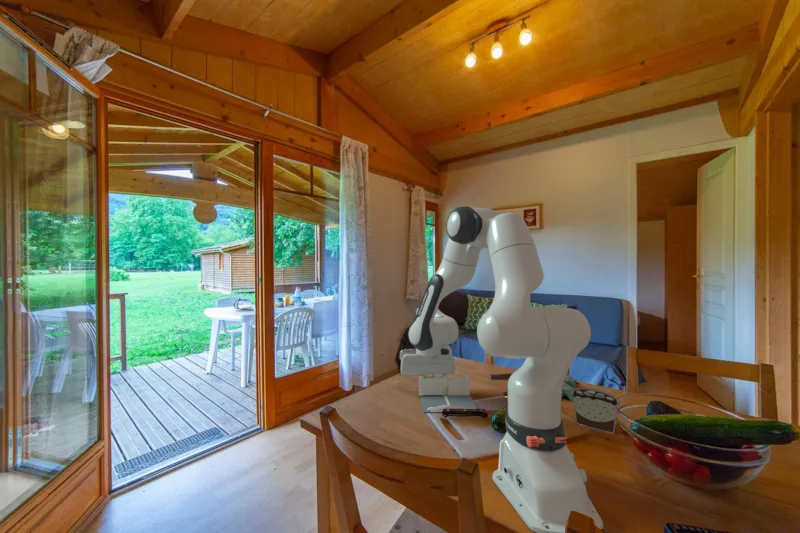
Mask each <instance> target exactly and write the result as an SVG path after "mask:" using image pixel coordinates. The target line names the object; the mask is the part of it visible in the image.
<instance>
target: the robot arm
mask: <svg viewBox="0 0 800 533" xmlns="http://www.w3.org/2000/svg"><path fill="white" fill-rule="evenodd" d="M530 231H531V230H530V228H529V227H528V225H527V223H526V221H525V219H524V218H523V217H522V216H521V215H520V214H518V213H516V212H510V211H509V212H503V211H499V210H496V209H495V210H494V209H490V208H486V207H471V206H468V205H467V206H458V207H455V208H453V210H452V211H451V212H450V213H449V214H448V217H447V220H446V233H447V236H448V239H447V242H446V245H445V249H444V252H443V256H442V259H441V262H440V264H439V267H438V269H437V270H436V272H435V273H434V275H432V277H431V278H429V280H428V281H427V282H428V283H427V285H426V287H425V289H424V293H423V295H422V298H421V300H420V303H419V305H418V307H417V309H416V313H415V316H414V318H413V320H412V322H411V323H410V326H409V327H408V328H409V329H408V331H407V332H408V333H407V336H408V340H409V342H410V344H411V346H413V347H414V348H403V349H402V350H401V351H400V352H399V360H400V373H401V375H403V376H411V375H412V376H413V375H416V376H419V375H423V376H424V378H426V375H430V377H436V375H442V374H447V375H450V374H451V375H454V374H455V372H456V362H455V358H454V355H453V349H452V347H451V346H450V345H451V344H454V343H455V342H457V341H458V339H459V337H460V327H459V324H458V322H457V320H456V319H454V318H453V317H452V316H448V315H447V314H445V313H443V312H442V311H441V310H440V309H439V306H440V303H441V302H442V300H444V298H445V297H447V296H448V295H450V294H451V293H453V292H456V291H458V290H459V289H460V290H461V289H462V288H465V287H466V286H467V285H469V283H471V281H472V279H473V278H474V276H475V273H476V270H477V266H478V262H479V257H480V253H481V252H482V250H483V249H484V248H485V249H488V253H489V254H488V255H489V258H490V263H491V267H492V273H493V279H494V280H493V281H494V286H495V289H494V296H493V300H492V303H491V305H490V306H489V308H488V310H486V311H485V313H483V314H482V316H481V317H480V319H479V321H478V323H477V329H476V336H477V339H478V343H479V345H480V347H481V348H482V350H483V351H484V353H486V354H487V355H488V356H490V357H495V358H501V359H507V360H515V359H525V360H524V362H523V363H522V365H521V366H520V367H519V368H517V369H516V371H513V372H512V373H513V374H512V375H511V376H510V378H509V379H508V381H507V392H508V398H507V410H506V412H505V413H506V414H505V417H504V418H505V420H504V422H505V430H506V432H505V434H504V436H503V437H502V439H501V440H500V441H499V453H498V466H497V467H498V468H497V469H495V470H494V471H493V473H492V478H491V479H492V481H493V482H494V483H495V485H496V486H497V487H498V488H499V490H500V491H501V492H502V494H503V495H504V496H505V498H506V500H508V502H509V503H510V504H511V506H512V507H513V509H514V510H515V511H516V512H517V514H518V515H519V517H520V518H521V519H522V520H523V522H524V523H525V525H526V526H527V527H528V528H529V529H530V530H531V531H532V532H535V533H565V527H566V523H567V520H568V517H569V514H570V511H572V510H573V511H577V512H579V513H582V514H585V515H587V516H590V517H592V518H593V519H594V521H595V524H596V526H597V527H598V528H600V529H602V530H603V529H604V522H603V520H602V518H601V516H600V514H599V513H598V511H597V510H596V508H595V505H594V504H593V503H592V500H591V499H590V497H589V496H588V492H587V487H586V484H585V483H587V481H588V478H587V477H588V476H587V473H586V471H585V470H584V469H583V468H578V466H577V464H576V462H575V455H574V453H573V452H571V451H570V450H569V448H568V446H567V443H568V441H567V439H568V437H567V436H566V429H565V426H564V422H563V420H562V397H563V396H562V387H563V382H564V379H565V376H566V374H568V372H569V369H570V367H571V365H572V363H573V362H574V360H575V359H576V357H577V356H578V354H579V353H580V352H582V351H583V350H584V349H585V348H586V347H587V346H588V345H589V342H590V341H591V336H592V333H591V332H592V331H591V325H590V323H589V321H588V319H587V317H586V315H584V314H583V313H582V312H581V311H580V310H578V309H575V308H570V307H565V306H558V305H552V306H551V305H550V306H532V303H531V293H533V292H534V291H535V290H537V289H538V288H539V287H541V285H542V283H543V280H544V277H545V274H544V271H543V268H542V264H541V259H540V258H539V252H538V250H537V247H536V243H535V241H534V238H533V236H532V235H533V234H531V232H530Z"/></svg>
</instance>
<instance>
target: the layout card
mask: <svg viewBox="0 0 800 533" xmlns="http://www.w3.org/2000/svg"><path fill="white" fill-rule="evenodd" d="M417 389H418V390H419V386H418V388H417ZM419 397H420V402H421V407H422V409H423V414H427V413H426V412H430V411H431V410H428V409H427V408H429V407H437V406H442V405H448V406H460V407H465V408H466V407H467V408H478V407H477V405H476V403H475V402H474V400H473V398H472V397H471V395H470V394H469V395H456V396H449V395H448V385H447V395H424V396H419ZM427 410H428V411H427Z"/></svg>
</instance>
